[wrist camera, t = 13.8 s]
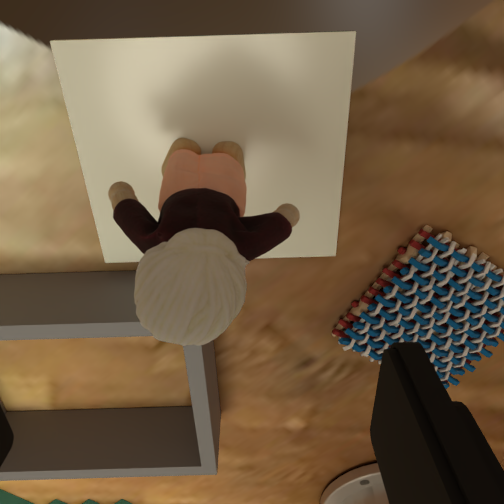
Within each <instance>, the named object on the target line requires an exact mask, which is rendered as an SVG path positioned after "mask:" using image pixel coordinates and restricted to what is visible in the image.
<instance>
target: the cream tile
mask: <svg viewBox="0 0 504 504" xmlns="http://www.w3.org/2000/svg"><path fill="white" fill-rule="evenodd" d="M355 39H356V31H331V32H296V33H264V34H234V35H233V34H232V35H200V36H168V37H138V38H106V39H73V40H52V41H50V43H51V47H52V51H53V55H54V59H55V63H56V67H57V71H58V75H59V80H60V84H61V88H62V92H63V96H64V100H65V104H66V108H67V112H68V116H69V120H70V124H71V128H72V132H73V136H74V140H75V144H76V148H77V152H78V156H79V160H80V164H81V168H82V172H83V176H84V180H85V184H86V188H87V192H88V196H89V200H90V204H91V208H92V212H93V216H94V220H95V224H96V228H97V232H98V236H99V240H100V244H101V248H102V252H103V256H104V260H105V263H120V262H140V260H141V258H142V257H143V256H144V254H143V253H142V252H141V251H140V250H139V249H138V248H137V246H136V245H135V244H133V243H132V242H131V240H130V239H129V238H128V237H127V236H126V235H125V234H124V232H123V231H122V230H121V228H120V227H119V226H118V225H117V224H116V222H115V220H114V219H113V209H112V202H111V201H110V199H109V196H108V191H109V188H110V187H111V185H112V184H114V183H116V182H120V181H123V182H126V183H128V184H129V185H131V186H132V188H133V190H134V192H135V196H136V197H137V199H138V201H139V202H140V203H141V204H142V205H143V206H144V207H145V208H146V209H147V210H148V212H149V213H150V214H151V215H152V216H153V217H154V218H155V220H156V221H157V222H158V219H159V216H160V211H159V209H158V203H159V194H160V189H161V185H162V180H163V176H162V172H161V169H162V164H163V162H164V160H165V158H166V155H167V153H168V151H169V149H170V147H171V145H172V143H173V142H174V141H175V140H177V139H179V138H187V139H190V140H193V141H195V142H196V143H197V144H198V145H199V146H200V148H201V155H202V154H212V150H213V148H214V146H215V145H216V144H217V143H219V142H222V141H232V142H235V143H237V144H238V145H239V146H240V147H241V149H242V151H243V157H244V164H245V172H246V179H245V182H246V187H247V193H246V207H245V214H244V216H256V215H262V214H265V213H272V212H273V211H275V210H276V209H277V208H278V207H279V206H280V205H282V204H285V203H289V204H292V205H294V206H295V207H297V209H298V210H299V213H300V218H299V221H298V223H297V224H296V225H295V226H294V227H292V233H291V235H290V237H289V238H288V239H286V240H285V241H283V242H282V243H281V244H279V245H277V246H276V247H274V248H273V249H272V250H270V251H268V252H267V253H265V254H263V255H261V256H259V257H257V258H287V257H321V256H336V248H337V237H338V226H339V215H340V204H341V193H342V182H343V171H344V160H345V149H346V138H347V127H348V116H349V105H350V94H351V83H352V72H353V61H354V50H355ZM244 216H243V217H244Z"/></svg>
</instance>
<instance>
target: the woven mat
mask: <svg viewBox="0 0 504 504" xmlns="http://www.w3.org/2000/svg"><path fill="white" fill-rule="evenodd" d="M432 229H433V228H431V227H429V226H428V225H426V226H425V227H424V228H423V229H421V230H420V231H419V232H418V234H417V235H416V236H415V237H414V238H413V239H412V240H411V241H410V242H409V244H408V247H407V249H406V248H405V247H400V248H399V249H398V250H397V251H398V252H399V254H400V255H398V256H397V258H396V259H395V260H394V261H393V262H392V264H391V265H390V266H389V267H388V268H384V269H383V271H382V272H383V274H382V275H381V276H380V277H379V278H378V279H377V280H376V281H375V283H374V284H373V285H372V286H371V287H370V288H369V289H368V291H367V292H366V293H365V294H364V295H363V296H362V297H361V298H360V302H358V301H354V302H353V303H352V304H351V305H352V306H353V308H352V309H351V310H350V312H348V313H347V315H346V316H345V317H344V318H343V319H340V320H339V321H338V323H339V324H338V325H337V326H336V328H334V330H333V331H332V334H331V335H332V336H333V337H335V336H339V340H338V344H344V345H347V346H345V347H342V348H343V349H344V350H348V349H350V348H352V351H354V352H355V351H357V352H361V351H364V352H362V353H361V356H363V355H364V356H366V357H368V356H371V358H370V360H369V361H371V362H373V361H374V359H375V360H380V361H378V364H381V360H382V354H383V351H384V349H390V348H391V345H392V343H394V342H419V343H421V345H422V346H423V348H424V350H425V352H426V354H427V355H428V357H429V359H430V361H431V363H432V365H433V367H434V368H435V370H436V372H437V374H438V376H439V378H440V380H441V382H442V383H443V385H444V387H445V388H446V389H447V388H448V387H449V383H448V381H449V382H450V383H452V384H453V385H456V386H457V385H458V384H459V383H460V382H459V381H458V380H457V379H454V378H453V377H452V376H450V375H451V374H453V375H455V374H459V375H463V374H464V373H465V371H464V370H463V369H462V368H463V367H464V368H466V369H467V370H469V371H471V372H473V371H474V370H475V369H476V368H475V367H474V366H472V365H470V363H471V361H470V360H476V361H480V360H481V356H480V354H479V353H478V352H480V353H482V354H483V355H485V356H486V357H491V356H492V355H493V354H492V353H491V352H490V351H488V350H486V349H485V348H484V347H485V346H486V345H488V346H489V345H492V346H494V347H496V346H497V345H498V341H497V340H496V339H495V338H494V337H495V336H497V337H498V338H500V339H501V340H503V341H504V334H503V332H504V330H503V329H504V286H503V288H502V289H500V288H498V286H501V285H504V271H503V270H502V269H497V270H496V268H497V266H496V265H494V264H491V263H490V262H486V260H487V259H488V258H489V257H490V256H488V255H487V254H485V253H483V252H482V253H481V254H480V255H479V256H478V257H477V248H476V247H472V246H470V247H468V248H467V249H465V248H463V249H457V248H458V247H459V246H460V245H459V244H458V243H456V242H455V241H452V242H451V237H452V233H450V232H448V231H446V232H443V233H439V234H438V235H437V236H436V237H435V236H433V235H432V234H430V232H431V231H432ZM425 238H426V239H428V240H427V242H428V243H430V244H429V245H428V246H427V247H426V246H424V245H422V242H423V241H424V240H425ZM447 242H451V244H450V245H449V244H448V243H447ZM438 250H441V251H444V252H443V253H442V254H438V253H437V252H438ZM418 254H420V255H419V256H418ZM450 255H451V259H450V260H448V258H449V257H450ZM431 261H433V263H432V264H430V263H428V262H431ZM409 263H410V264H411V265H410V266H408V265H406V264H409ZM483 263H486V265H484V264H483ZM440 266H444V268H442V269H439V268H440ZM465 268H466V269H465ZM398 269H401V270H400V273H401V274H402V275H399V274H397V273H395V272H396V271H397V270H398ZM418 270H421V271H418ZM423 271H425V272H423ZM475 271H477V272H479V273H477V274H474V272H475ZM499 273H500V274H499ZM455 274H456V275H457V276H458V277H457V278H455V277H453V276H454V275H455ZM390 277H391V278H390ZM392 278H393V279H392ZM410 278H411V279H413V280H414V281H415V282H412V281H410V280H409V279H410ZM466 281H467V283H464V282H466ZM446 283H448V284H449V286H448V287H447V286H445V284H446ZM382 286H383V288H384V289H383V291H384V292H385V293H383V292H381V291H379V290H380V289H381V288H382ZM456 290H457V291H458V292H456ZM480 291H481V292H480ZM435 292H436V293H435ZM414 294H415V296H414ZM489 294H491V295H493V296H495V295H496V296H495V297H493V296H488V295H489ZM374 295H375V296H376V297H375V299H376V300H377V301H375V300H373V299H372V298H373V296H374ZM470 297H471V298H472V299H473V300H470V299H469V298H470ZM395 298H397V299H398V300H397V299H395ZM428 301H431V302H432V303H431V304H430V303H428ZM483 303H484V305H483V306H481V304H483ZM461 306H464V307H465V308H464V309H463V308H462V307H461ZM389 307H390V308H389ZM471 312H473V313H476V314H473V313H471ZM495 312H498V313H495ZM379 314H380V315H379ZM451 314H452V315H451ZM413 319H414V320H413ZM485 319H487V320H488V321H486V320H485ZM391 320H394V321H391ZM351 321H354V323H353V324H351V323H350V322H351ZM445 322H446V323H447V325H446V324H444V323H445ZM480 327H481V328H480ZM344 328H346V329H347V330H346V331H345V330H342V329H344ZM478 328H480V329H478ZM501 328H503V329H501ZM341 330H342V331H341ZM395 333H396V334H395ZM487 333H489V334H487ZM447 336H449V337H447ZM430 339H431V340H430ZM462 343H463V344H462ZM462 366H463V367H462ZM447 380H448V381H447Z"/></svg>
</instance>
